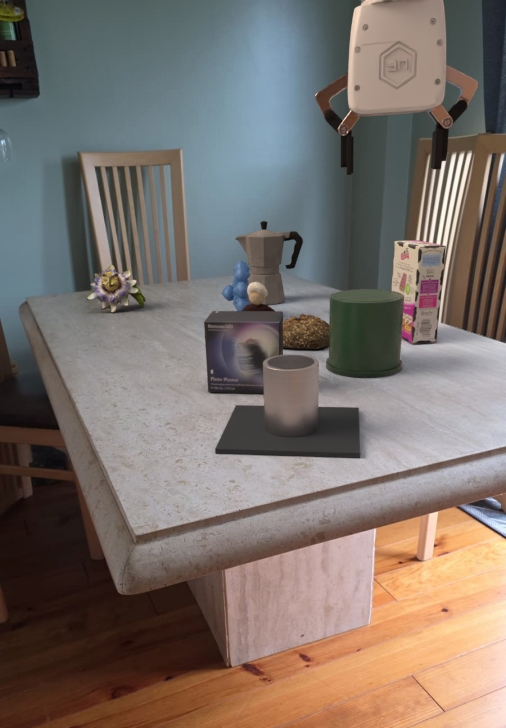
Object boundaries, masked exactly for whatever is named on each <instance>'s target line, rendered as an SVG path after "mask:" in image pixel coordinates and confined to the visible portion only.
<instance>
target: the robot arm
mask: <svg viewBox="0 0 506 728" xmlns="http://www.w3.org/2000/svg"><path fill="white" fill-rule="evenodd" d="M358 1H359V2H360V5H358V6H356V7H355V8H354V9H353V14H352V20H351V27H350V36H349V46H348V47H349V48H348V65H347V67H348V68H347V72H345V73H344V74H343V75H341V76H339V78H337V79H335V80H334V81H332V82H331V83H329V84H328V85H326V86H325V87H323V88H322V89H320V90H319V91H317V92H316V93H315V96H314V99H315V102H316V105H317V106H318V108H319V110H320V112H321V114H322V116H323V118H324V120H325V122H326V123H327V124H328V125H329V126H330V127H331V128H332V129H333V130H334V131H335V132H336V133H337V135H338V136H339V137H340V168H346V176H351V175H352V174H354V151H355V150H354V144H355V142H354V136H352V135H353V134H352V133H353V130H352V129H353V127H354V126H355V125H356V123H357V122H358V121H359V119H360V118H361V117H379V116H392V115H393V116H395V115H407V114H408V115H409V114H419V113H425V112H426V113H427V114H428V116H429V117H430V118H431V120H432V121H433V123H434V124H435V128H434V129H435V130H434V131H432V135H431V136H432V137H431V157H430V169H432V170H435V171H436V170H437V171H438V170H441V169H442V162H447V159H448V150H449V149H448V147H449V132H450V131H449V130H450V128H452V126H453V125H454V123H455V122H456V121H457V120H458V119H459V118H460V117H461V116H462V115H463V114H464V112H466V110H467V109H468V106H469V104H470V102H471V101H472V98H473V97H474V96H475V93H476V92H477V90H478V88H479V81H478V80H477V79H475V78H473V77H471V76H470V75H468V74H466V73H463V72H462V71H459V70H457V69H456V68H454V67H452V66H450V65H448V64H447V25H446V12H445V4H444V0H358ZM446 84H449V85H450V86H452V87H455V88H457V89H459V95H458V98H457V99H456V101H455V103H454V104H453V105H452V106H451V107H450V108H449V110H448V111H447V110H446V108H445V107H444V105H443V104H442V103H443V102H444V99H445V95H446ZM345 90H347V105H348V109H349V112H348V113H347V115H346V116H345V117H344V119H342V118H341V117H340V116H339V115H338V114H337V113H336V112H335V110H334V108H333V107H332V104H331V100H332V99H333V98H334V97H336V96H338V95H339V94H340V93H342V92H343V91H345Z"/></svg>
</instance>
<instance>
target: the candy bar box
mask: <svg viewBox="0 0 506 728" xmlns="http://www.w3.org/2000/svg"><path fill="white" fill-rule="evenodd" d="M393 245H394V247H393V262H392V263H393V264H392V277H391V278H392V279H391V290H390V291H395V292H399V293H401V294H403V295H404V308H403V323H402V338H401V339H402V340H404V341H406V342H408V343H410V344H411V345H420V344H433V343H437V341H438V330H439V329H438V328H439V319H440V309H441V308H440V307H441V299H442V298H441V297H442V289H443V280H444V271H445V269H444V268H445V259H446V249H447V245H443V244H439V243H434V242H429V241H424V240H417V239H414V240H413V239H411V240H410V239H409V240H408V239H407V240H395V241H394V244H393Z"/></svg>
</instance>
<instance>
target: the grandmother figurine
mask: <svg viewBox="0 0 506 728" xmlns="http://www.w3.org/2000/svg"><path fill="white" fill-rule="evenodd" d="M247 293H248V296H249V300H250V302H251V303H252V304H248V305H246V306H245V307H244V308H243V310H242V311H276V310H275V309H274V308H273V307H271V306H270V305H264V304H261V303H263V302H264V299H265V298H266V296H268V291H267V289H266V288H265V286H264V285H263V284H261V283H259V282H253V283H250V284H249V286H248V289H247Z"/></svg>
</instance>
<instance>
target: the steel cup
mask: <svg viewBox="0 0 506 728" xmlns="http://www.w3.org/2000/svg"><path fill="white" fill-rule="evenodd" d="M319 376H320V361H319V360H318V358H317V357H314V356H310V355H307V354H295V353H294V354H283V355H279V356H274V357H270V358H268V359H266V360H265V361H264V362H263V382H264V394H263V406H264V420H265V429H266V430H267V431H268V432H269V433H271V434H274V435H278V436H284V437H297V436H304V435H308V434H311V433H313V432H314V431H316V430H317V428H318V407H319V391H320V390H319V388H320V387H319V385H320V384H319V383H320V381H319V380H320V377H319Z"/></svg>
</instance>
